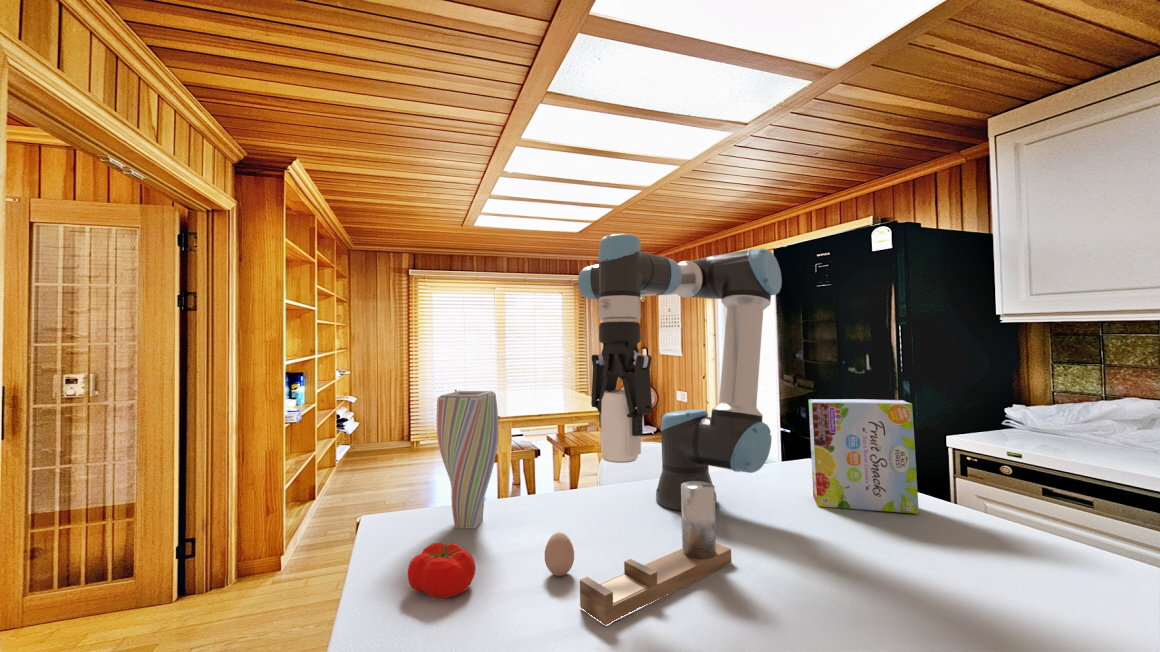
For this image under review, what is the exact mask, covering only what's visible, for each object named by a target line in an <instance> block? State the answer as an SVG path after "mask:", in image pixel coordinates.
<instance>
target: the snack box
mask: <svg viewBox="0 0 1160 652" xmlns="http://www.w3.org/2000/svg"><path fill="white" fill-rule="evenodd" d="M808 412H809V413H808V414H809V417H808V418H809V431H810V432H809V434H810V452H811V453H810V454H811V455H810V457H811V476H812V477H811V479H812V495H813V496H812V497H813V499H814V501H815V503H816V506H817V507H820V508H823V507H824V508H836V509H851V510H863V511H876V512H877V511H878V512H889V513H890V512H891V513H902V514H903V513H904V514H905V513H906V514H917V515H918V514H920V512H919V511H920V510H919V497H918V495H919V493H918V479H917V463H916V462H917V460H916V447H915V446H916V444H915V431H914V414H913V403H911V402H907V401H906V400H903V399H901V400H900V399H899V400H898V399H869V398H868V399H866V398H865V399H863V398H856V399H855V398H853V399H851V398H850V399H848V398H846V399H845V398H843V399H839V398H837V399H831V398H830V399H825V398H824V399H821V398H818V399H816V398H815V399H812V398H811V399H810V398H809V399H808Z"/></svg>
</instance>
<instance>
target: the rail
mask: <svg viewBox="0 0 1160 652" xmlns="http://www.w3.org/2000/svg"><path fill="white" fill-rule="evenodd" d="M730 564H732V548H730V547H727V546H725V545H721V544H719V543H717V542H716V556H715V557H713V558H711V559H705V560H701V559H694V558H690V557H688V556H686V555H685V554H684V553H683V548H680V549H678V550H675V551H673V552H671V553H669V554H666V555H663V556H662V557H660V558H657V559H655V560H652V561H651V562H648V563H646V564H642V563H640V562H639V561H636V560H634V559H632V558H629V559H626V560H624V562H623V565H624V566H623V568H624V571H623V572H624V573H623V574H620V575H618V576H616V577H612V578H610V579H609V580H607V581H604V582H602V583H599V582H597V581H595V580H594V579H592V578H590V577H589V576H586V577H582V578H580V579H579V608H580V607H581V608H582V609H584V610H585V611H586V612H587V613H589V614H590V615H592V616H593V617H595V618H596V619H598V620H599V621H601V622H602V623H603V624H605V625H607V624H609V623H611V622H612V621H614V620H616V619H618V618H620V617H621V616H624V615H626V614H628V613H629V612H632V611H634V610H636V609H637V608H639V607H642V606H644V605H646V604H649V603H651V602H653V601H655V600H657V599H659V598H661V597H663V598H665V597H667V596H668V595H667V594H669V595H671V594H673V593H675V592H676V591H675V590H677V591H679V590H681V589H682V587H683V588H684V586H685V587H687V586H689V585H691V584H693V583H695V582H696V580H697V581H699V580H700V579H703V578H704V577H706V576H708V575H710V574H712V573H714V572H716V571H718V570H720V569H721V568H724V567H726V566H728V565H730ZM694 581H695V582H694ZM688 584H689V585H688ZM680 588H681V589H680ZM678 589H679V590H678ZM674 591H675V592H674ZM672 592H673V593H672ZM670 593H671V594H670ZM666 595H667V596H666ZM664 596H665V597H664Z"/></svg>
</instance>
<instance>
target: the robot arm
mask: <svg viewBox="0 0 1160 652" xmlns="http://www.w3.org/2000/svg"><path fill="white" fill-rule="evenodd" d="M598 248H599V249H598V258H597V262H598V263H597V264H596V263H595V264H593V265H592V264H591V265H590V266H586V267H584V268H583V269H581V271H580V272H579V274H578V277H577V281H578V282H577V283H578V284H577V285H578V290H579V292H580V294H581V295H582V296H583V297H584V298H585V299H587V300H596V301H599V302H598V305H599V306H598V309H599V310H598V311H599V312H598V319H600V320H601V321H602V322H600V323H599V324H598V342H599V343H601V344H602V351H601V353H599V354H592V355H591V363H592V380H591V381H592V382H591V383H592V384H591V402H590V404H591V407H592V408H596V409H597V411H598V414H599V416H598V418H599V419H598V420H599V422H598V423H599V430H601V407H602V398H603V396H604V391H606V390H607V391H608V392H611V391H613V390H617V389H616V388H617V384H618V380H619V379H620V380H621V381H622V385H623V390H624V391H625V395H626V400H627V404H628V409H629V414H627V417H626V455H628V456H632V455H637V454H638V455H641V454H642V449H641V448H642V444H641V443H642V442H641V441H642V439H641V438H642V437H641V436H643V433H644V431H643V429H644V428H643V427H644V424H643V423H644V422H643V420H644V416H646V415H648V414H651V413H652V412H653V402H652V387H651V365H652V364H651V363H652V356H651V355H649V354H647V355H646V354H642V353H640V350H639V348H638V344H639V343H641V339H642V338H641V337H642V336H641V335H642V333H641V332H642V328H641V326H642V324H640V322H639V321H638V320H640V319H642V311H641V306H642V303H641V297H646V296H647V297H649V296H651V297H652V296H653V297H654V296H668V295H677V296H680V297H681V298H685V299H686V298H695V299H696V298H698V299H707V300H708V299H709V300H721V304H723V305H724V307H725V308H726V317H725V329H724V340H723V341H724V342H723V353H722V354H723V355H722V361H721V362H722V364H721V376H720V385H719V386H720V388H719V399H718V404H716V405H715V406H714V407H712V409H711V414H710V415H711V416H709V414H708V410H707V409H698V408H697V409H686V410H685V409H683V410H677V411H671V412H666V413H664V414H663V415H662V417H661V423H660V424H661V428H660V433H661V437H660V438H661V463H662V465H661V474H660V477H659V481H658V485H657V488H656V492H655V501H656V503H657V504H658V505H659V506H662V507H663V508H666V509H669V510H673V511H679V512H682V507H681V484H682V483H684V482H689V481H700V482H706V483H710V484H712V485H714V484H713V482H712V481H713V480H712V478H711V475H710V470H709V467H714V468H715V467H716V468H719V469H720V468H721V469H724V470H725V469H726V470H730V471H733V472H736V473H737V472H738V473H747V474H748V473H749V474H750V473H751V474H752V473H756V472H758V471H760V470H761V469H762V468H763V466H764V464H765V463H766V462H767V460H768V457H769V455H770V452H771V447H772V435H771V429H770V428H771V427H769V425H768V424H766V423H764V422H763V414H762V412H761V411H760V410H759V409H758V407H757V402H758V391H759V389H758V388H759V379H760V378H759V376H760V373H759V372H760V361H761V348H762V346H761V345H762V333H763V320H764V311H765V310H766V309H767V308H768V307H769V306H771V303H772V302H771V301H772V296H776V295H778V294H779V293H780V292H781V289H782V283H783V281H782V279H783V278H782V272H781V268H780V265H779V262H778V260H777V258H776V256H775V255H774V253H773V252H772V251H771V250H769V249H768V248H754V249H753V248H749V249H746V250H741V251H740V250H739V251H734V252H729V253H727V252H726V253H722V254H713V255H710V256H705V257H702V258H698V259H694V260H693V259H692V260H683V261H680V262H677V261H675V260H674V259H672V258H669V257H666V256H664V255H657V254H653V253H648V252H643V251H641V250H642V247H641V240H640V238H639V237H638V236H637V235H635V234H628V233H617V234H615V233H613V234H610V235H606V236H604V237H602V238H601V240H600V241H599V247H598ZM636 407H637V409H635V408H636ZM717 502H718V501H717V492H716V491H715V507H716V506H717Z"/></svg>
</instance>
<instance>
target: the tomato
mask: <svg viewBox="0 0 1160 652" xmlns="http://www.w3.org/2000/svg"><path fill="white" fill-rule="evenodd" d="M475 575H476V562H475V560H474V557H473V556H472V554H470V553H469V552H468V551H467V550H466V549H464V548H463V547H460V546H459V545H458V544H456V543H450V544H448V543H446V544H444V543H442V542H434V543H432V544H430V545H428V546H427V547H425V548H424V549H423V550H422V551H421V553H420V554H417V555H416V556H414V557H412V559H411V561H410V563H409V565H408V567H407V579H408V583H409V585H410V586H411V588H412V589H414V590H415V591H417V592H419V593H423V594H426V595H428V596H430V597H432V598H436V599H447V598H452V597H454V596H457V595H460V594H462V593H463V592H465V591H466V590H467V589H468V588H469V587H470V586H471V584H472V582H473V580H474V578H475Z"/></svg>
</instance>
